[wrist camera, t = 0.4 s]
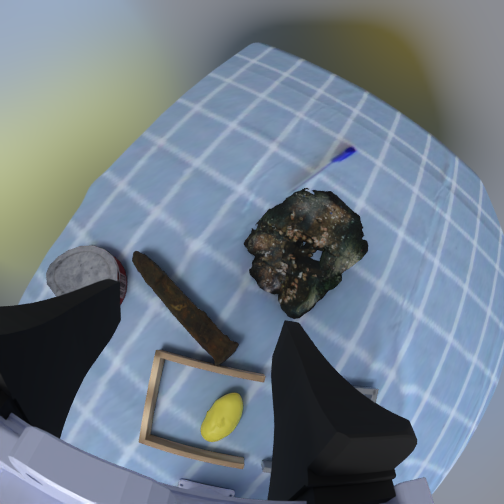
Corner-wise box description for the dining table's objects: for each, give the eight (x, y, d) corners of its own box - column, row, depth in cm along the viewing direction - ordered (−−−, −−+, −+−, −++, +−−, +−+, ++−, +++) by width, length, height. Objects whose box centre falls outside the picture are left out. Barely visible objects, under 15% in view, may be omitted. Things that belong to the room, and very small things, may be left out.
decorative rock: (319, 334, 33) (218, 265, 34) (306, 331, 39) (220, 272, 40) (385, 217, 37) (299, 156, 38) (367, 229, 43) (291, 175, 44)
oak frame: (242, 462, 31) (243, 469, 28) (144, 437, 31) (138, 442, 28) (263, 374, 35) (265, 376, 32) (161, 349, 35) (155, 350, 33)
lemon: (193, 426, 32) (189, 435, 28) (227, 383, 34) (226, 388, 31) (219, 443, 32) (217, 453, 28) (253, 400, 34) (255, 407, 30)
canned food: (88, 277, 42) (58, 234, 35) (138, 268, 42) (111, 219, 35) (72, 335, 34) (31, 293, 27) (127, 331, 34) (88, 284, 27)
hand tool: (241, 346, 36) (241, 347, 32) (218, 365, 35) (215, 369, 31) (154, 244, 40) (145, 233, 35) (134, 262, 39) (122, 252, 34)
